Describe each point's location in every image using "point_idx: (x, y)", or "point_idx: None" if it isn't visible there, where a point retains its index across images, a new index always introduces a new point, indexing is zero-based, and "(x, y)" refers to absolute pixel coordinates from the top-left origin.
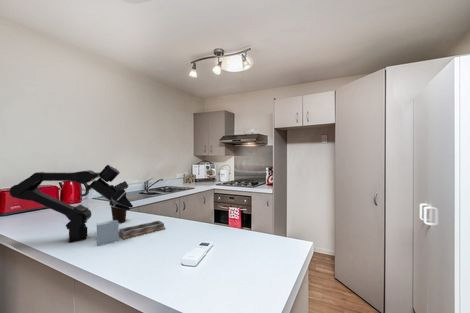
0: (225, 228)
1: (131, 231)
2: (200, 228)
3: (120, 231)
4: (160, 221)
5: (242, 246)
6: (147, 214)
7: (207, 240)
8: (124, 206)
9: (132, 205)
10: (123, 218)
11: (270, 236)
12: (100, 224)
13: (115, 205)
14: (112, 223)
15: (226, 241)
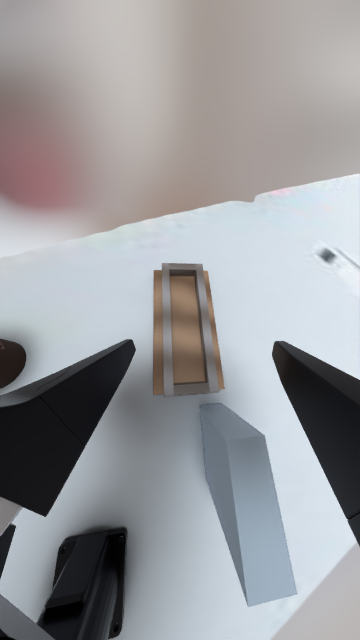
0: (270, 198)
1: (214, 361)
2: (245, 223)
3: (185, 394)
4: (175, 263)
5: (354, 224)
6: (6, 258)
7: (313, 245)
8: (102, 381)
9: (290, 345)
10: (8, 351)
11: (332, 183)
12: (281, 569)
13: (42, 498)
14: (268, 470)
15: (329, 228)
